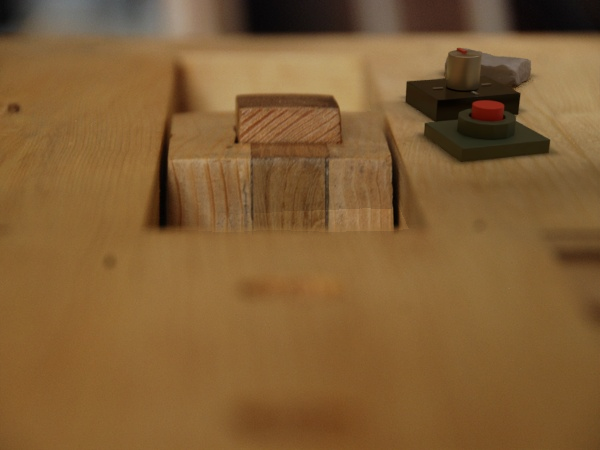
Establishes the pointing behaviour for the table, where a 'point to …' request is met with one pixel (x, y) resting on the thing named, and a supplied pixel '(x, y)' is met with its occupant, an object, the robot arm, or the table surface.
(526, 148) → the button box
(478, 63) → the dial
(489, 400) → the table surface
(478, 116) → the button
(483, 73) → the stone block
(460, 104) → the panel
